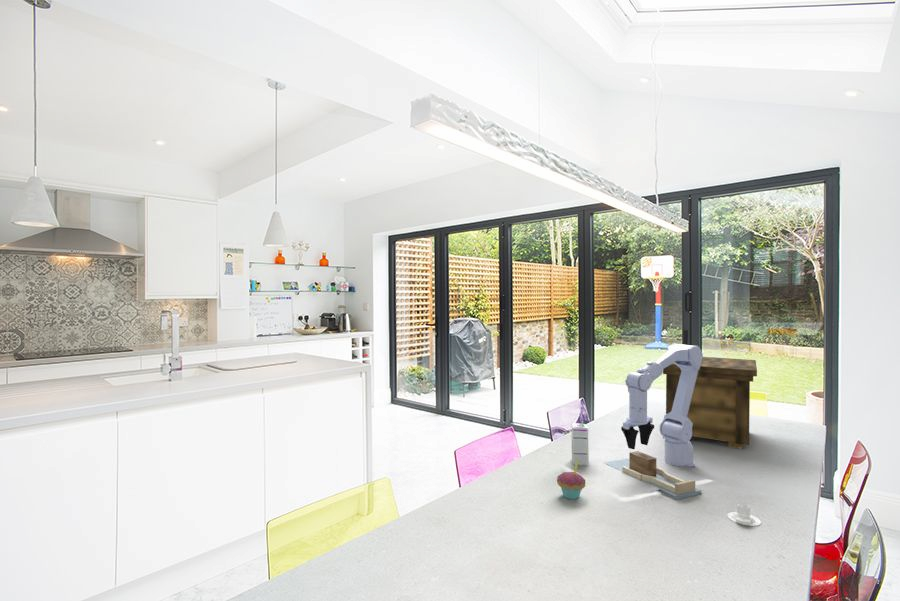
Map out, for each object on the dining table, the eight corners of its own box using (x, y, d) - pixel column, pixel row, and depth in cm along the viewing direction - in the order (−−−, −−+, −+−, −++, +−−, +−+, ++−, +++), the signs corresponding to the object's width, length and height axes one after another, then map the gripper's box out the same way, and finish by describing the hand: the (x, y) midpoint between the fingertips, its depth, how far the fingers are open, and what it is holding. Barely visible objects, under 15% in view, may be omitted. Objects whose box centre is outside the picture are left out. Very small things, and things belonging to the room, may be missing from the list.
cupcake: (586, 492, 146) (586, 454, 146) (584, 504, 138) (584, 463, 138) (558, 488, 149) (558, 451, 149) (555, 499, 141) (555, 460, 141)
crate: (659, 438, 201) (659, 363, 201) (670, 420, 231) (670, 354, 230) (756, 453, 182) (757, 370, 182) (754, 431, 212) (755, 360, 212)
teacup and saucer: (748, 531, 123) (748, 515, 123) (719, 518, 131) (719, 503, 130) (767, 523, 127) (767, 508, 127) (738, 511, 135) (738, 497, 135)
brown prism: (637, 467, 165) (638, 450, 164) (656, 475, 157) (656, 458, 157) (629, 469, 163) (629, 452, 163) (647, 477, 156) (647, 459, 156)
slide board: (626, 461, 174) (626, 450, 174) (701, 493, 146) (701, 480, 146) (603, 465, 170) (603, 454, 170) (676, 499, 141) (676, 486, 141)
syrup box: (589, 468, 167) (589, 427, 167) (571, 467, 168) (572, 427, 168) (587, 462, 172) (587, 423, 172) (571, 461, 174) (571, 422, 173)
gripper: (639, 402, 169) (639, 439, 169) (615, 407, 161) (615, 447, 161) (658, 406, 164) (657, 444, 164) (633, 412, 155) (633, 452, 155)
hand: (637, 446), depth 162 cm, fingers open, 7 cm apart
